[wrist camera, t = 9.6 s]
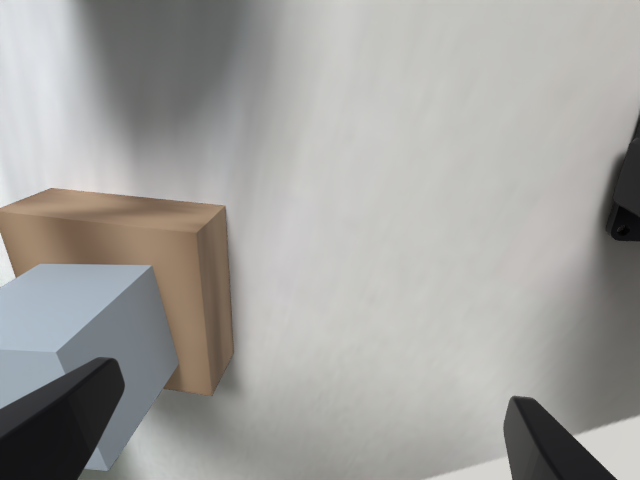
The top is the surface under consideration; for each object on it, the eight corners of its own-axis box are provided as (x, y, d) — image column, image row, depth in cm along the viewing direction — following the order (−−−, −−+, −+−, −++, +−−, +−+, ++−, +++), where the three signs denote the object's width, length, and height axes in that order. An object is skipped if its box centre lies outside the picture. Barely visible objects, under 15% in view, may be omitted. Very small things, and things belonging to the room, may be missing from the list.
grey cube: (152, 265, 18) (55, 352, 13) (179, 363, 20) (108, 471, 15) (40, 263, 19) (-95, 344, 13) (78, 358, 21) (-22, 458, 16)
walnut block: (228, 202, 20) (196, 233, 17) (236, 347, 25) (211, 396, 21) (57, 185, 22) (-7, 210, 18) (93, 327, 26) (47, 370, 22)
